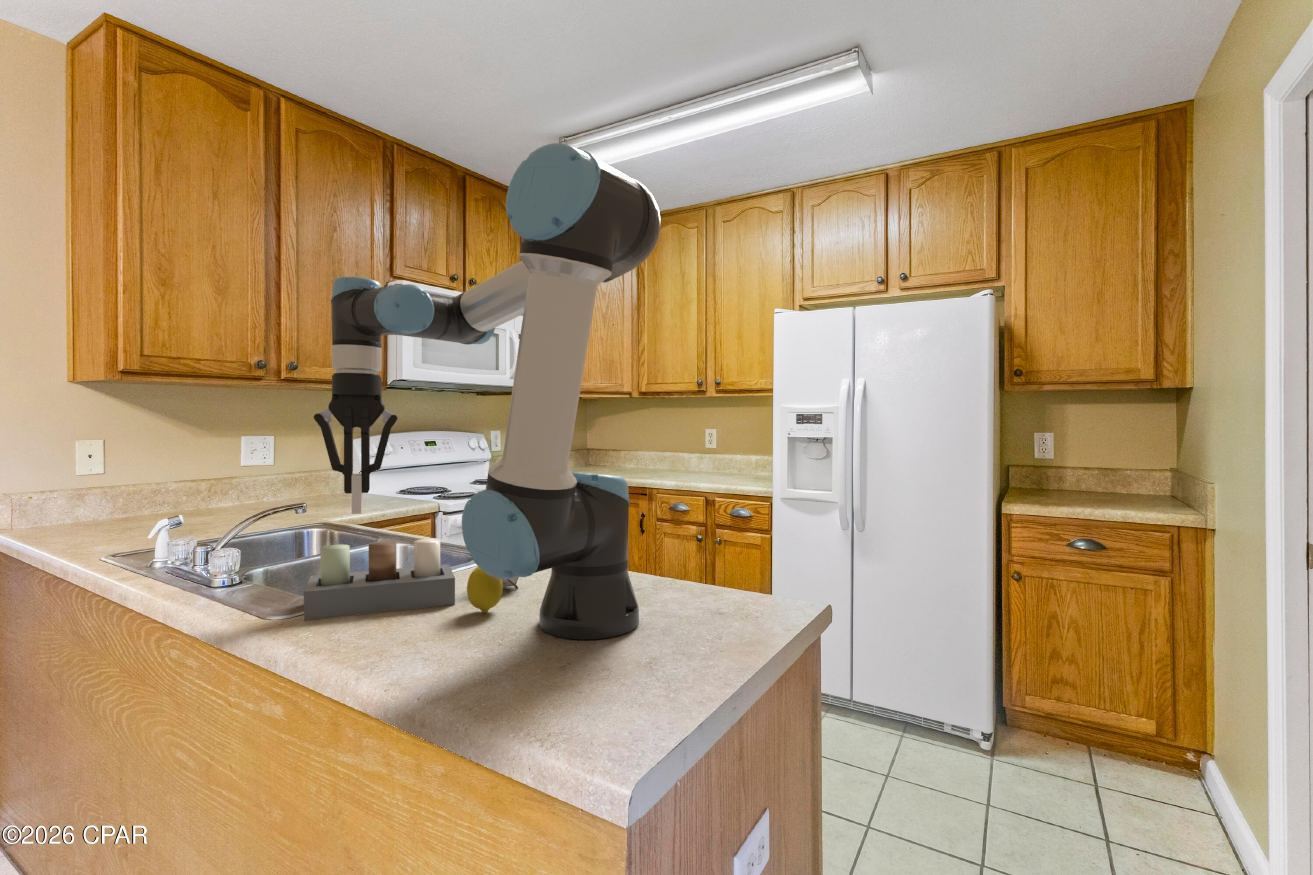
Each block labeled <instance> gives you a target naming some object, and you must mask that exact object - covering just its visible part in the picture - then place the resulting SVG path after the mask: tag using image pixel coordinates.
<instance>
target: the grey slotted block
mask: <svg viewBox="0 0 1313 875" xmlns="http://www.w3.org/2000/svg"><path fill="white" fill-rule="evenodd" d="M454 605H456V578H455V575H454V572H453V571H452V568H451V566H450V564H449V563H447V564H440V576H430V577H419V578H414V566H412V567H402V568H401V567H400V568H396V580H385V581H374V582H369V570H365V571H352V572H351V571H350V584H340V585H329V586H321V574H316V575H310V577H309V579H308V580H307V584H306V586H305V588H304V590H303V621H304V622H305V621H315V620H316V621H317V620H324V619H333V618H343V617H345V618H346V617H352V616H361V615H362V616H363V615H372V614H379V613H380V614H381V613H388V612H389V613H390V612H399V611H409V610H416V609H417V610H418V609H419V610H420V609H428V608H436V607H437V608H438V607H445V606H454Z"/></svg>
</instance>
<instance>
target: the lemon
mask: <svg viewBox="0 0 1313 875" xmlns="http://www.w3.org/2000/svg"><path fill="white" fill-rule="evenodd" d="M503 589H504V587H503V583H502V579H498V578H494V577H492V576H490V575H488V574H486V573H485V572H484V571H482V570H481V569H480V568H479V567H478V566H477V567H476V568H474V569H473V570H472V571H471V573H470V574H469V577H468V580H467V585H466V592H467V598H468V601H469V602H470V604H471V606H473V607H474V608H476V609H478V610H480V611H481V612H482V613H483V614H484V613H488V611H490V609H492V608H494V607H495V606H496V605H498V603H499V602H500V601H501V598H502V595H503V591H504V590H503Z"/></svg>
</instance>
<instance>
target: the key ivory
mask: <svg viewBox="0 0 1313 875" xmlns="http://www.w3.org/2000/svg"><path fill="white" fill-rule="evenodd" d="M440 565H441V539H440V538H421V539H417V540H416V539H415V540H414V541H413V567H414V578H419V577H430V576H440Z"/></svg>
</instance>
